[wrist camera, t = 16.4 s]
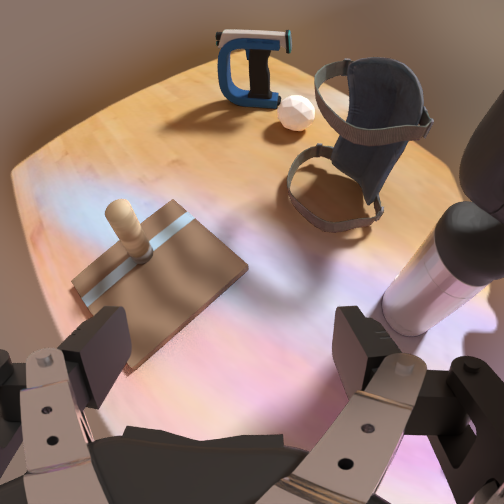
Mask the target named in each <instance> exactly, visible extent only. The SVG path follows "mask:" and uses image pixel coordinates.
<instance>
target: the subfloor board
mask: <svg viewBox="0 0 504 504" xmlns="http://www.w3.org/2000/svg"><path fill="white" fill-rule="evenodd" d="M140 225H141V227H142V229H143V231H144V233H145V235H146V237H147V239H148V241H149V243H150V245H151V246H152V248H153V256H152V258H151V259H150V260H149V261H148V262H147V263H144V264H137V263H135V262H134V261H133V260H132V258H131V257H130V255H129V254H128V252H127V250H126V249H125V247H124V246H123V244H122V243H121V241H120V240H119V241H118V242H117V243H116V244H114V245H113V246H112V247H111V248H109V249H108V250H107V251H106V252H105V253H103V254H102V255H101V256H100V257H99V258H97V259H96V260H95V261H94V262H93V263H91V264H90V265H89V266H88V267H87V268H86V269H84V270H83V271H82V272H81V273H80V274H79V275H78V276H76V277H75V278H74V279H73V280H72V281H71V282H72V283H73V285H74V287H75V288H76V290H77V292H78V293H79V295H80V296H81V298H82V300H83V301H84V303H85V304H86V306H87V307H88V309H89V310H90V312H91V313H92V315H93V316H94V315H95V314H96V313H97V312H98V311H99V310H100V309H101V308H102V307H104V306H122V307H123V308H124V309H125V312H126V317H127V322H128V328H129V333H130V338H131V343H132V351H131V356H130V358H129V360H128V361H127V364H128V365H129V366H130V367H131V369H133V370H136V369H137V368H139V367H140V366H141V365H142V364H143V363H144V362H145V361H147V360H148V359H149V358H150V357H151V356H152V355H153V354H154V353H156V352H157V351H158V350H159V349H160V348H161V347H162V346H164V345H165V344H166V343H167V342H168V341H169V340H170V339H171V338H173V337H174V336H175V335H176V334H177V333H178V332H179V331H180V330H182V329H183V328H184V327H185V326H186V325H187V324H188V323H189V322H191V321H192V320H193V319H194V318H195V317H196V316H197V315H198V314H200V313H201V312H202V311H203V310H204V309H205V308H206V307H207V306H209V305H210V304H211V303H212V302H213V301H214V300H215V299H216V298H218V297H219V296H220V295H221V294H222V293H223V292H224V291H225V290H226V289H228V288H229V287H230V286H231V285H232V284H233V283H234V282H235V281H237V280H238V279H239V278H240V277H241V276H242V275H243V274H244V273H245V272H247V271H248V264H247V263H245V262H244V261H243V260H242V259H241V258H240V257H239V256H237V255H236V254H235V253H234V252H233V251H232V250H231V249H229V248H228V247H227V246H226V245H225V244H224V243H223V242H221V241H220V240H219V239H218V238H217V237H216V236H215V235H213V234H212V233H211V232H210V231H209V230H208V229H207V228H205V227H204V226H203V225H202V224H201V223H200V222H199V221H197V220H196V219H195V218H194V217H193V216H192V215H191V214H190V213H189V212H187V211H186V210H185V209H184V208H183V207H182V206H180V205H179V204H178V203H177V202H176V201H175V200H174V199H172V200H171V201H170V202H168V203H167V204H166V205H164V206H163V207H162V208H160V209H159V210H158V211H156V212H155V213H154V214H152V215H151V216H150V217H148V218H147V219H146V220H144V221H143V222H142V223H141V224H140Z"/></svg>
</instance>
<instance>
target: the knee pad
mask: <svg viewBox="0 0 504 504" xmlns="http://www.w3.org/2000/svg"><path fill="white" fill-rule="evenodd" d="M338 75H341V76H347V78H348V86H349V111H348V117H347V120H346V122H345V121H344V120H343V119H342V118H340V117H339V116H338V115H337V114H336V113H335V112H334V111H333V110H332V109H331V108H330V107H329V106H328V105H327V104H326V103H325V102H324V100H323V98H322V97H321V95H320V93H319V90H318V89H319V87H320V85H321V84H322V83H323V82H324V81H325V80H328V79H330V78H333V77H335V76H338ZM315 97H316V101H317V104H318V107H319V109H320V111H321V113H322V115H323V117H324V118H325V119H326V121H327V122H328V123H329V125H330V126H331V127H332V128H333V129H334V130H335V131H336V132H337V133H338V134H339V135H340V136H339V138H338V140H337V142H336V144H335V146H334V147H331V146H322V144H319V143H317V145H316V146H314V147H310V148H308V149H306V150H304V151H303V152H302V153H300V154H299V155H298V156H297V157H296V159H295V160H294V162H293V163H292V165H291V168H290V170H289V173H288V178H287V188H288V193H289V197H290V199H291V202H292V204H293V205H294V207H295V208H296V209H297V210H298V211H299V212H300V213H301V214H302V215H303V216H304V217H305V218H306V219H307V220H308V221H309V222H310V223H312V224H313V225H314V226H315V227H317V228H319V229H321V230H323V231H325V232H334V233H336V232H342V231H346V230H350V229H354V228H359V227H366V226H369V225H371V224H372V223H373V222H374V220H375V221H376V222H377V220H379V219H380V217H381V216H382V214H383V213H384V210H383V209H384V207H381V202H380V198H379V192H380V190H381V188H382V186H383V185H384V183H385V181H386V179H387V177H388V175H389V173H390V172H391V170H392V168H393V167H394V165H395V163H396V162H397V161H398V159H399V158H400V156H401V154H402V153H403V151H404V149H405V147H406V145H407V143H408V141H412V140H420V139H421V138H422V137H424V138H426V136H427V134H428V133H429V131H430V129H431V127H432V125H433V123H434V120H433V119H432V118H430V117H429V115H428V112H427V110H426V108H425V107H424V106H423V104H424V101H423V90H422V87H421V85H420V82H419V80H418V78H417V77H416V75H415V74H414V72H413V71H412V70H411V69H410V68H409V67H407V66H406V65H405V64H404V63H402V62H399V61H397V60H394V59H389V58H380V57H371V58H363V59H359V60H356V61H351V59H344V60H343V61H339V62H334V63H331V64H328V65H325V66H324V67H322V68H321V69H320V70H318V72H317V73H316V75H315ZM418 123H419V124H420V126H417V125H418ZM320 156H322V157H325V158H328V159H330V160H331V161H332V164H333V165H334V166H335V167H336V168H337V169H339V170H340V171H341V172H343V173H344V174H346V175H347V176H349V177H351V178H352V179H354V180H355V181H356V182H358V183H359V185H360V187H361V188H362V191H363V195H364V199H365V201H366V203H367V205H368V206H369V205H370V204H371V203H372V202H374V208H375V211H376V216H375V217H372V218H359V219H352V220H347V221H343V222H328V221H325V220H323V219H320V218H318V217H317V216H315V215H314V214H313V213H311V212H310V211H309V210H308V209H306V208H305V207H304V206H303V205H302V204H301V203H299V202H298V201H297V200H296V199H295V197H294V196H293V195H292V194H291V192H290V185H291V181H292V178H293V176H294V174H295V172H296V170H297V169H298V167H299V166H300V165H301V164H302V163H304V162H305V161H306V160H308V159H310V158H313V157H320Z"/></svg>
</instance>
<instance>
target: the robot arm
mask: <svg viewBox="0 0 504 504" xmlns="http://www.w3.org/2000/svg"><path fill="white" fill-rule="evenodd" d="M459 179H460V185H461V187H462V189H463V192H464V193H465V195H466V196H467V197H468V198H469V199H470V200H471V201H472V202H468V201H463V202H458V203H455V204H453V205H452V206H450V207H449V208H448V209H447V210H446V211H445V212H444V214H443V215H442V217H441V218H440V220H439V221H438V223H437V224H436V225H435V227H434V228H433V230H432V231H431V232H430V234H429V235H428V237H427V238H426V239H425V241H424V242H423V244H422V245H421V246H420V248H419V249H418V250H417V252H416V253H415V254H414V256H413V257H412V258H411V259H410V261H409V262H408V263H407V265H406V266H405V267H404V268H403V270H402V271H401V272H400V274H399V275H398V276H397V277H396V278H395V280H394V281H393V282H392V283H391V285H390V286H389V287H388V288H387V290H386V291H385V293H384V296H383V300H382V309H383V314H384V316H385V319H386V321H387V322H388V324H389V325H390V326H391V327H392V328H393V329H394V330H395V331H397V332H398V333H400V334H402V335H405V336H410V337H411V336H418V335H421V334H423V333H424V332H426V331H427V330H429V329H430V328H432V327H433V326H435V325H436V324H438V323H439V322H440V321H442V320H443V319H445V318H446V317H447V316H449V315H450V314H452V313H453V312H454V311H456V310H457V309H458V308H460V307H461V306H462V305H464V304H465V303H466V302H467V301H469V300H470V299H471V298H473V297H474V296H475V295H476V294H477V293H479V292H480V291H481V290H482V289H484V288H485V287H486V286H487V285H488V284H490V283H491V282H492V281H493V280H497V279H501V278H504V90H503V91H502V93H501V94H500V96H499V97H498V98H497V100H496V101H495V103H494V104H493V105H492V107H491V108H490V109H489V111H488V112H487V114H486V115H485V117H484V118H483V119H482V121H481V122H480V124H479V125H478V127H477V128H476V130H475V132H474V133H473V135H472V137H471V138H470V141H469V143H468V145H467V147H466V149H465V151H464V154H463V157H462V160H461V164H460V170H459ZM131 351H132V343H131V338H130V333H129V328H128V322H127V317H126V312H125V309H124V308H123V307H122V306H104V307H102V308H101V309H100V310H99V311H98V312H97V313H96V314H95V315H94V316H93V317H92V318H90V319H88V320H86V321H84V322H83V323H81V324H80V325H79V326H78V327H77V330H74V331H73V332H72V333H71V335H69V336H68V337H67V338H66V339H65V340H64V341H63V343H61V345H60V346H59V347H58V348H57V349H56V348H44V349H40V350H38V351H35V352H33V353H32V354H31V355H29V357H28V358H27V360H26V363H12V362H11V359H10V356H9V353H8V352H7V351H5V350H1V349H0V478H1V477H2V475H3V473H4V471H5V470H6V468H7V466H8V465H9V463H10V461H11V460H12V458H13V456H14V455H15V453H16V451H17V450H18V448H19V446H20V445H21V443H22V441H23V442H24V451H25V458H26V465H27V472H26V473H25V474H24V475H23V476H20V477H18V478H16V479H14V480H11V481H9V482H7V483H4V484H2V485H0V504H391V503H389V502H388V501H386V500H384V499H383V498H381V497H380V496H378V495H376V492H377V490H378V488H379V486H380V484H381V483H382V481H383V479H384V477H385V475H386V473H387V471H388V469H389V467H390V465H391V463H392V460H393V458H394V456H395V454H396V452H397V450H398V448H399V445H400V443H401V441H402V439H403V436H404V435H427V437H428V439H429V441H430V443H431V446H432V448H433V450H434V452H435V454H436V457H437V459H438V461H439V463H440V465H441V468H442V470H443V472H444V475H445V477H446V479H447V482H448V484H449V486H450V489H451V491H452V493H453V496H454V498H455V501H456V503H457V504H504V382H503V381H502V380H501V379H500V378H499V377H498V376H497V374H496V373H495V372H494V371H493V370H492V369H491V368H490V367H489V366H488V364H487V363H485V362H484V361H482V360H481V359H478V358H475V357H471V356H461V357H458V358H456V359H454V360H453V361H452V363H451V366H450V369H449V371H440V370H427V366H426V363H425V362H424V361H423V360H422V359H421V358H419V357H417V356H415V355H412V354H407V353H402V352H401V350H400V349H399V348H398V346H397V345H396V344H395V342H394V341H393V340H392V338H390V336H389V334H388V333H387V332H386V330H385V329H384V328H383V326H382V325H381V324H380V323H379V322H377V321H376V320H374V319H372V318H365V316H364V315H363V313H362V312H361V311H360V309H359V308H358V306H342V307H337V308H336V312H335V322H334V332H333V341H332V355H333V360H334V363H335V365H336V368H337V370H338V373H339V376H340V378H341V381H342V383H343V386H344V389H345V391H346V394H347V397H348V399H349V402H348V403H347V405H346V406H345V407H344V409H343V410H342V412H341V413H340V414H339V416H338V417H337V418H336V420H335V421H334V422H333V424H332V425H331V426H330V428H329V429H328V430H327V432H326V433H325V434H324V435H323V437H322V438H321V439H320V440H319V442H318V443H317V444H316V445H315V447H314V448H313V449H312V450H311V452H309V451H306V450H303V449H299V448H295V447H291V446H285V445H284V442H283V434H280V435H240V436H234V437H228V438H221V439H214V440H206V441H198V440H193V439H190V438H186V437H183V436H179V435H176V434H172V433H169V432H166V431H163V430H155V429H147V428H140V427H133V426H126V429H125V431H124V433H123V435H122V436H113V437H107V438H103V439H99V440H96V441H94V438H93V435H92V433H91V430H90V427H89V424H88V421H87V419H86V416H85V414H84V411H83V410H84V408H85V407H88V408H94V409H99V408H100V406H101V405H102V403H103V401H104V399H105V398H106V396H107V394H108V393H109V391H110V389H111V388H112V386H113V384H114V383H115V381H116V379H117V378H118V376H119V374H120V373H121V371H122V369H123V368H124V366H125V364H126V363H127V361H128V360H129V358H130V356H131ZM470 420H472V422H473V423H474V425H475V427H476V434H477V435H475V434H474V432H473V430H472V429H471V427H470V425H469V422H470Z"/></svg>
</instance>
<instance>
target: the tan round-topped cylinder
mask: <svg viewBox="0 0 504 504" xmlns="http://www.w3.org/2000/svg"><path fill="white" fill-rule="evenodd" d="M105 217H106V218H107V220H108V222H109V223H110V225H111V227H112V228H113V230H114V232H115V233H116V235H117V236H118V238H119V240H120V241H121V243H122V244H123V246H124V247H125V249H126V250H127V252H128V254H129V255H130V257H131V258H132V260H133V261H134V262H135V263H137V264H144V263H147V262H148V261H149V260H150V259H151V258H152V256H153V248H152V246H151V245H150V243H149V241H148V239H147V237H146V235H145V233H144V231H143V229H142V227H141V225H140V223H139V221H138V219H137V217H136V215H135V213H134V211H133V209H132V207H131V205H130V203H129V201H127V200H126V199H118V200H115V201H113V202H112V203H110V204H109V205H108V207H107V208H106V211H105Z"/></svg>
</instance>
